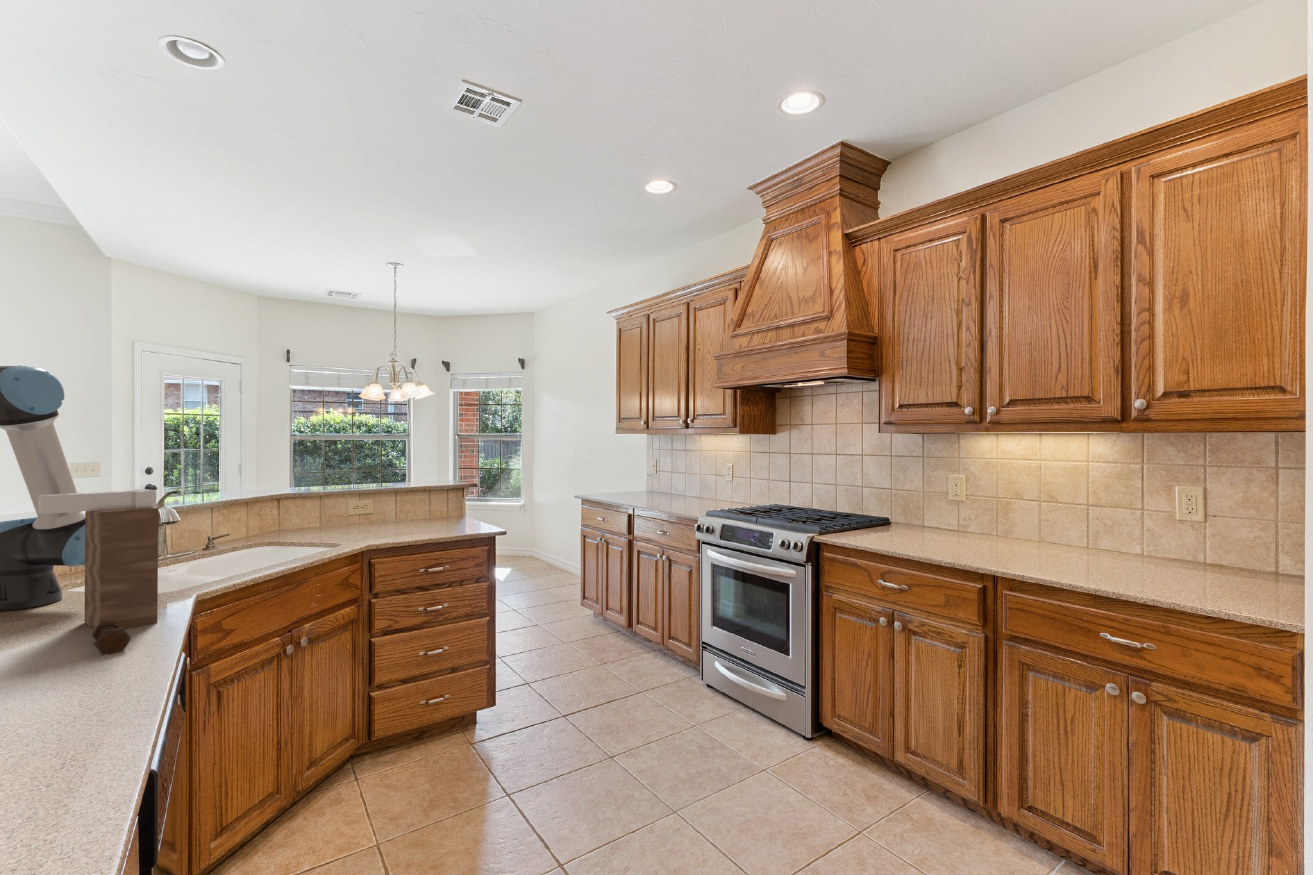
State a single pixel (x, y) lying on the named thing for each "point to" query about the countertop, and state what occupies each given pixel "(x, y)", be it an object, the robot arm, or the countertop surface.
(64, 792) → the countertop surface
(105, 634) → the bolt
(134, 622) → the wooden block
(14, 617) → the countertop surface
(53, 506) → the steel block
